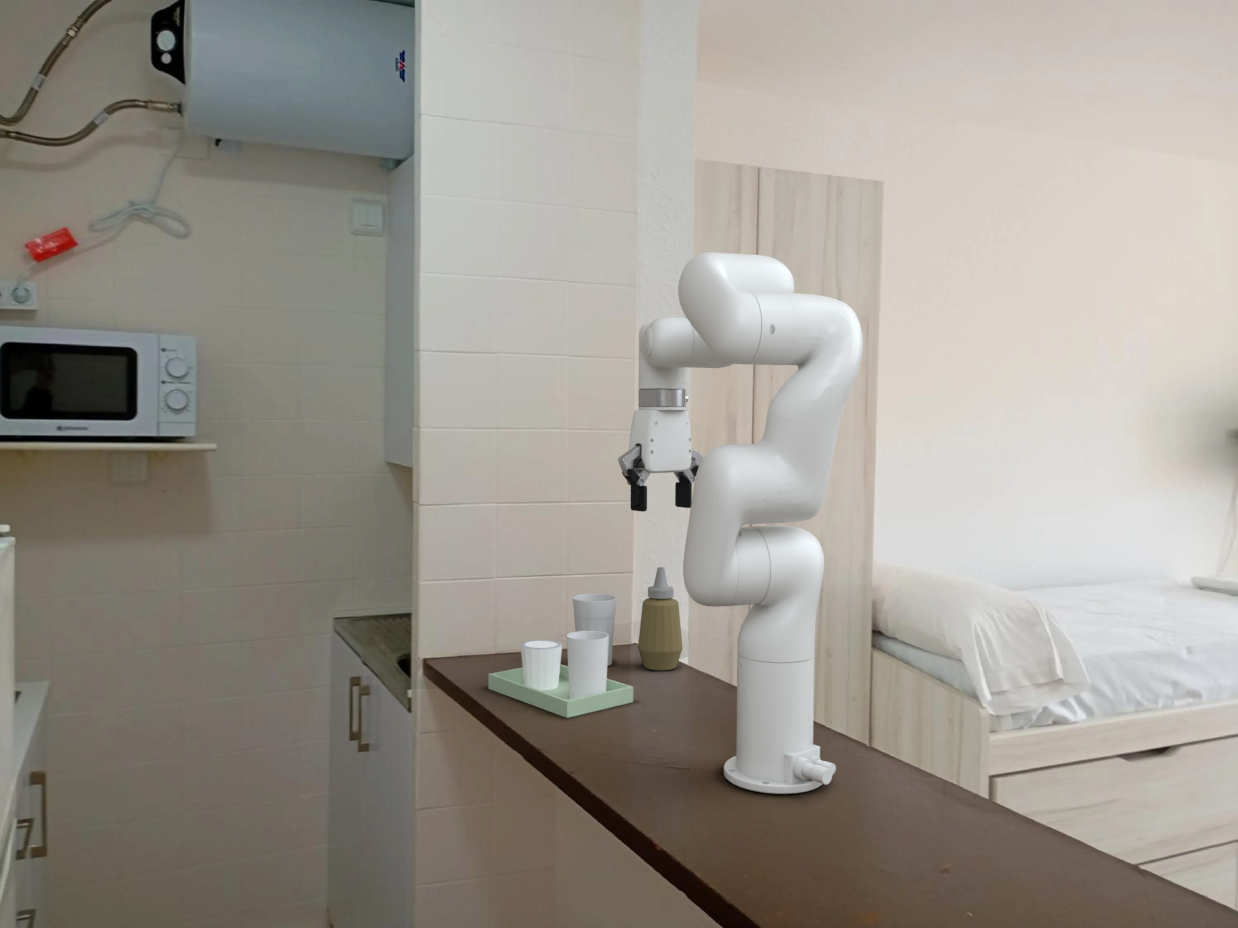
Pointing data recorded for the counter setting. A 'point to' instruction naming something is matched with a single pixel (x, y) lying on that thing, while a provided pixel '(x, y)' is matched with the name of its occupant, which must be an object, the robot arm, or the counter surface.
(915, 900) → the counter surface
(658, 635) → the squeeze bottle
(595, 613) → the cup
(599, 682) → the white tumbler
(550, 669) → the white tapered cup
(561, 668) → the tray
